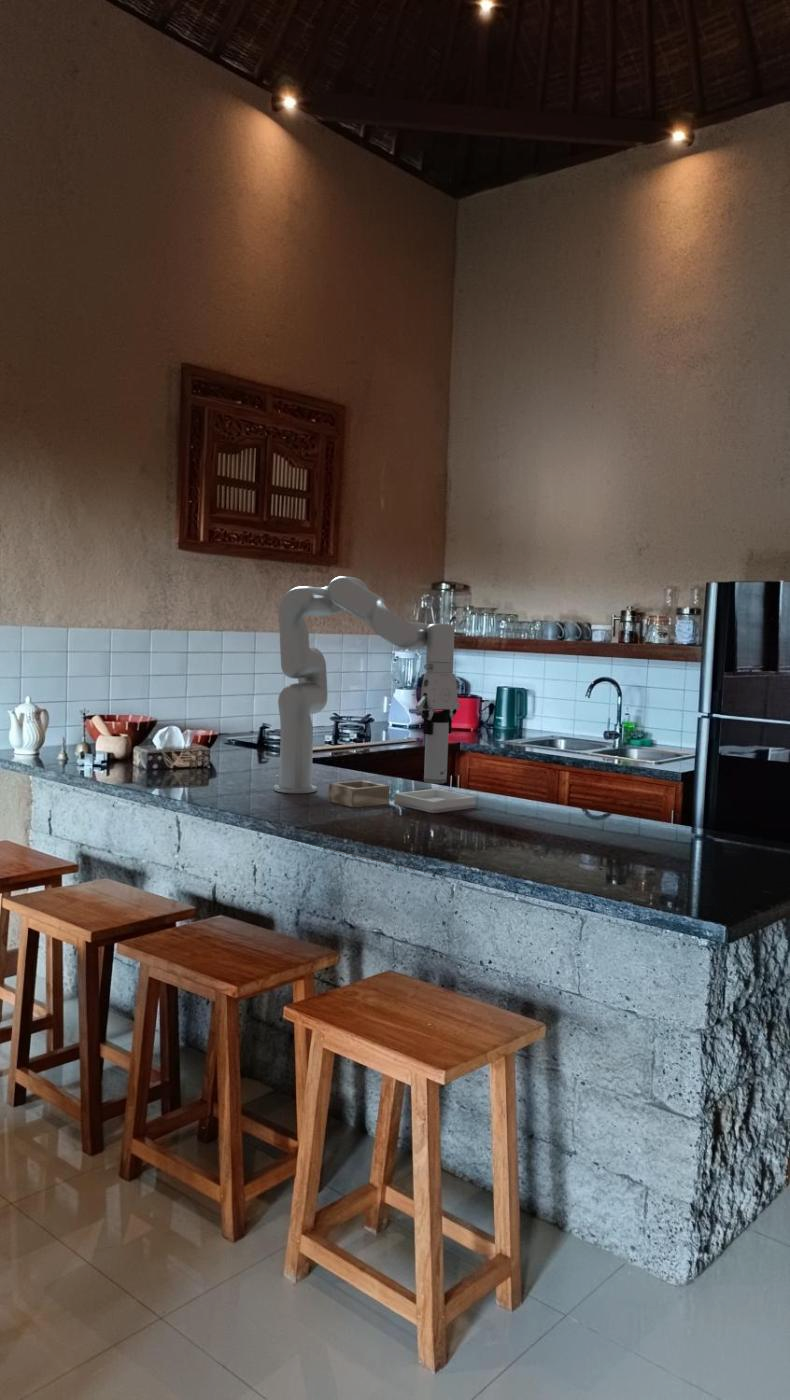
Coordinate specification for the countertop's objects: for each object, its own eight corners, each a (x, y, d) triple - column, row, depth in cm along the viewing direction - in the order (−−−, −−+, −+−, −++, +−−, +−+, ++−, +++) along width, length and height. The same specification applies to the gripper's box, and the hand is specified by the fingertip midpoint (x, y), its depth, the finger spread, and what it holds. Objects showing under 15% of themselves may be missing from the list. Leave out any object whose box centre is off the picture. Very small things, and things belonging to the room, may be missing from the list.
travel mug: (448, 783, 278) (451, 711, 277) (424, 782, 279) (426, 710, 277) (447, 780, 285) (450, 709, 283) (423, 779, 285) (426, 708, 283)
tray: (393, 803, 283) (394, 793, 283) (436, 798, 293) (436, 788, 293) (432, 813, 271) (433, 802, 271) (475, 807, 281) (475, 796, 281)
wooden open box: (328, 800, 284) (329, 783, 284) (362, 797, 292) (362, 780, 292) (355, 807, 275) (355, 789, 275) (388, 803, 283) (389, 785, 283)
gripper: (425, 669, 271) (423, 736, 272) (471, 669, 282) (469, 733, 283) (406, 668, 277) (404, 733, 278) (452, 667, 288) (450, 730, 289)
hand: (437, 733), depth 281 cm, fingers closed on travel mug, 6 cm apart
